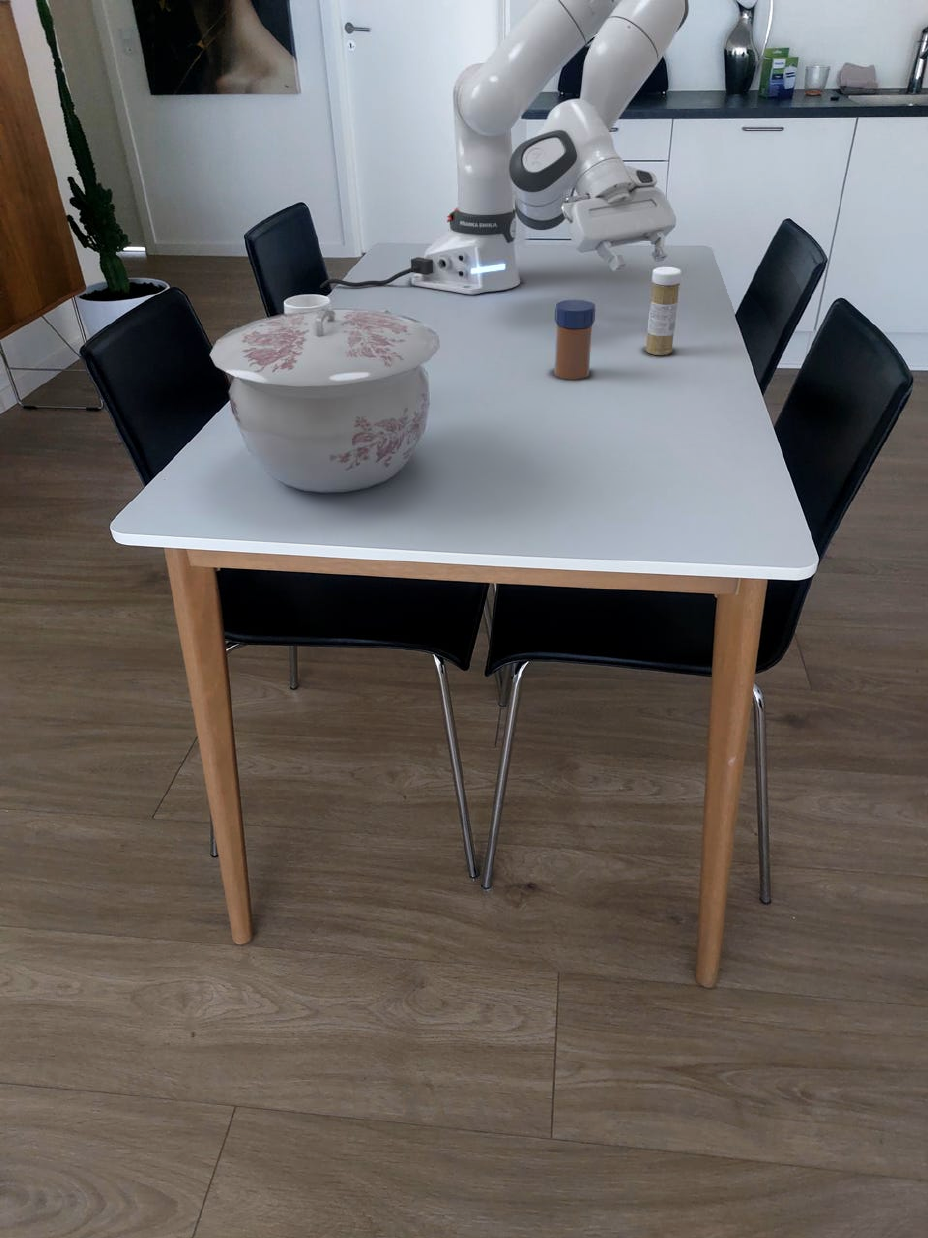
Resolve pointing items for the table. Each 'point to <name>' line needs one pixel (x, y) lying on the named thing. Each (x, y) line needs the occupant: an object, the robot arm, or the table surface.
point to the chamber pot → (329, 394)
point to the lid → (575, 314)
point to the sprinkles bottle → (663, 310)
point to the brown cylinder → (572, 352)
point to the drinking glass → (306, 303)
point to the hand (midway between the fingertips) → (640, 263)
